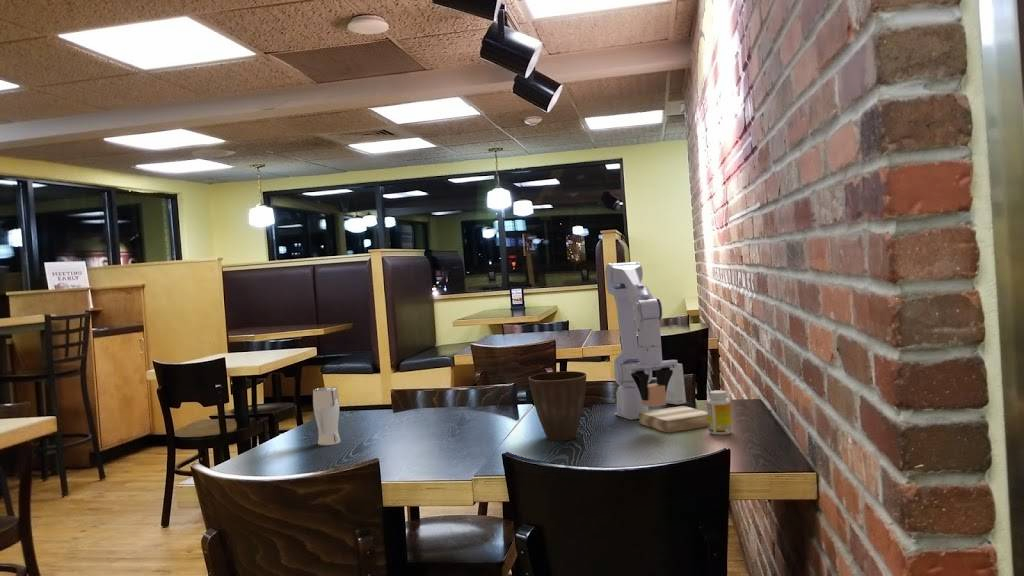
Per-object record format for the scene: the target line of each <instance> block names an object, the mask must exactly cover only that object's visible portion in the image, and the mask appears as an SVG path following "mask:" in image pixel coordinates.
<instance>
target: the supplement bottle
mask: <svg viewBox="0 0 1024 576" xmlns="http://www.w3.org/2000/svg"><path fill="white" fill-rule="evenodd" d="M706 409H707V411H706V412H708V425H709V426H708V432H709V433H710V434H712V435H716V436H723V435H724V436H725V435H726V436H727V435H729V434H731V433H732V432H733V423H732V422H733V419H732V409H731V400H730V399H729V398H727V391H726V390H716V389H715V390H711V391H709V399H708V400H706Z"/></svg>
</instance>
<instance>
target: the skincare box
mask: <svg viewBox="0 0 1024 576" xmlns="http://www.w3.org/2000/svg"><path fill="white" fill-rule="evenodd" d="M670 370H673V374H672V376H671V378H670V380H669V383H668V386H667V391H666V404H671V405H678V406H679V405H683V404H686V403H687V398H686V390H685V389H686V387H685V377H684V367H683V363H678V368H670Z"/></svg>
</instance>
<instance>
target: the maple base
mask: <svg viewBox="0 0 1024 576" xmlns="http://www.w3.org/2000/svg"><path fill="white" fill-rule="evenodd" d="M638 419H639V424H640V425H643V426H647V427H649V428H652V429H655V430H658V431H660V432H661V431H662V432H665V433H667V434H668V433H669V434H670V433H674V432H680V431H687V430H693V429H699V428H705V427H706V428H707V427H709V425H708V412H707V411H705V410H701V409H696V408H694V407H690V406H689V407H688V406H686V405H685V406H684V405H681V406H679V405H678V406H672V407H667V408H660V409H653V410H648V411H645V412H639V418H638Z"/></svg>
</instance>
